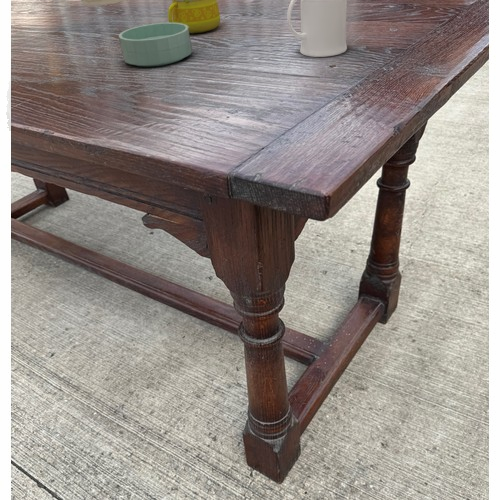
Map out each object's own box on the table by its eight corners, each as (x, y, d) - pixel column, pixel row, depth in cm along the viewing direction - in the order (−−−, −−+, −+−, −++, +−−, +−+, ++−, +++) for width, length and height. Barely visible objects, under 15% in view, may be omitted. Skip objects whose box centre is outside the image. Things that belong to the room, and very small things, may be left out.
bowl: (161, 71, 92) (156, 42, 89) (110, 64, 98) (103, 37, 95) (205, 51, 100) (202, 24, 97) (156, 46, 106) (151, 21, 104)
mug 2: (298, 64, 88) (296, -13, 81) (276, 53, 95) (272, -19, 88) (356, 50, 92) (358, -24, 85) (330, 41, 98) (331, -29, 91)
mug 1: (201, 22, 122) (193, -35, 115) (231, 27, 115) (225, -33, 108) (157, 34, 116) (146, -25, 108) (186, 40, 109) (176, -23, 102)
